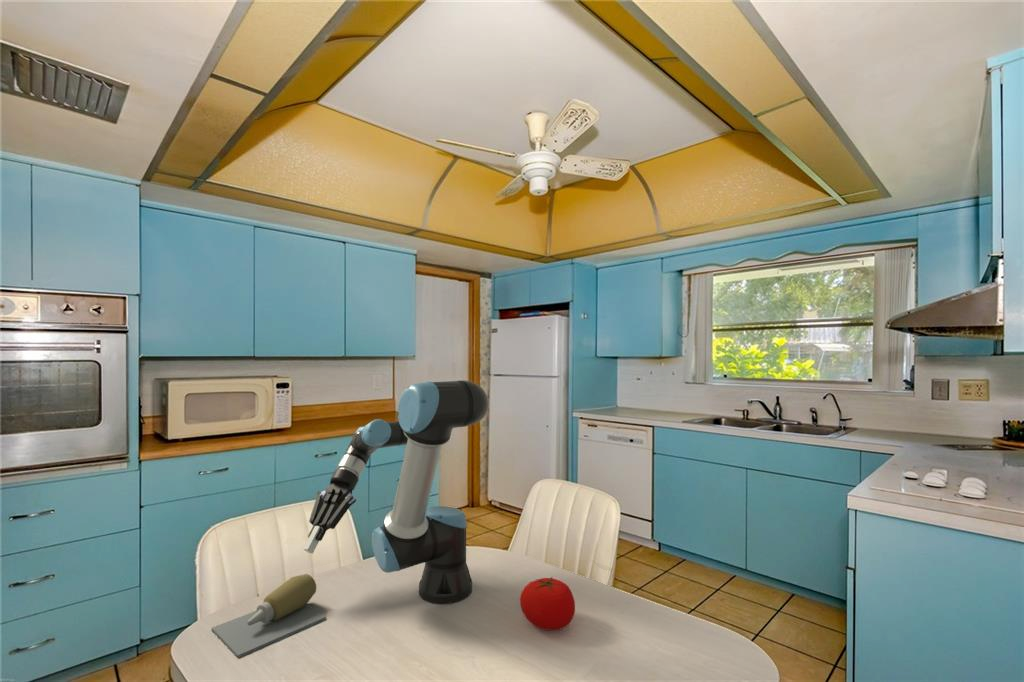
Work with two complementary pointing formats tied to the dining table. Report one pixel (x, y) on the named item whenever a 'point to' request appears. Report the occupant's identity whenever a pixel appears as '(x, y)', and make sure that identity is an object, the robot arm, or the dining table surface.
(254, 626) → the rubber mat
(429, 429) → the robot arm
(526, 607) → the tomato
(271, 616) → the squeeze bottle
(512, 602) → the dining table surface
